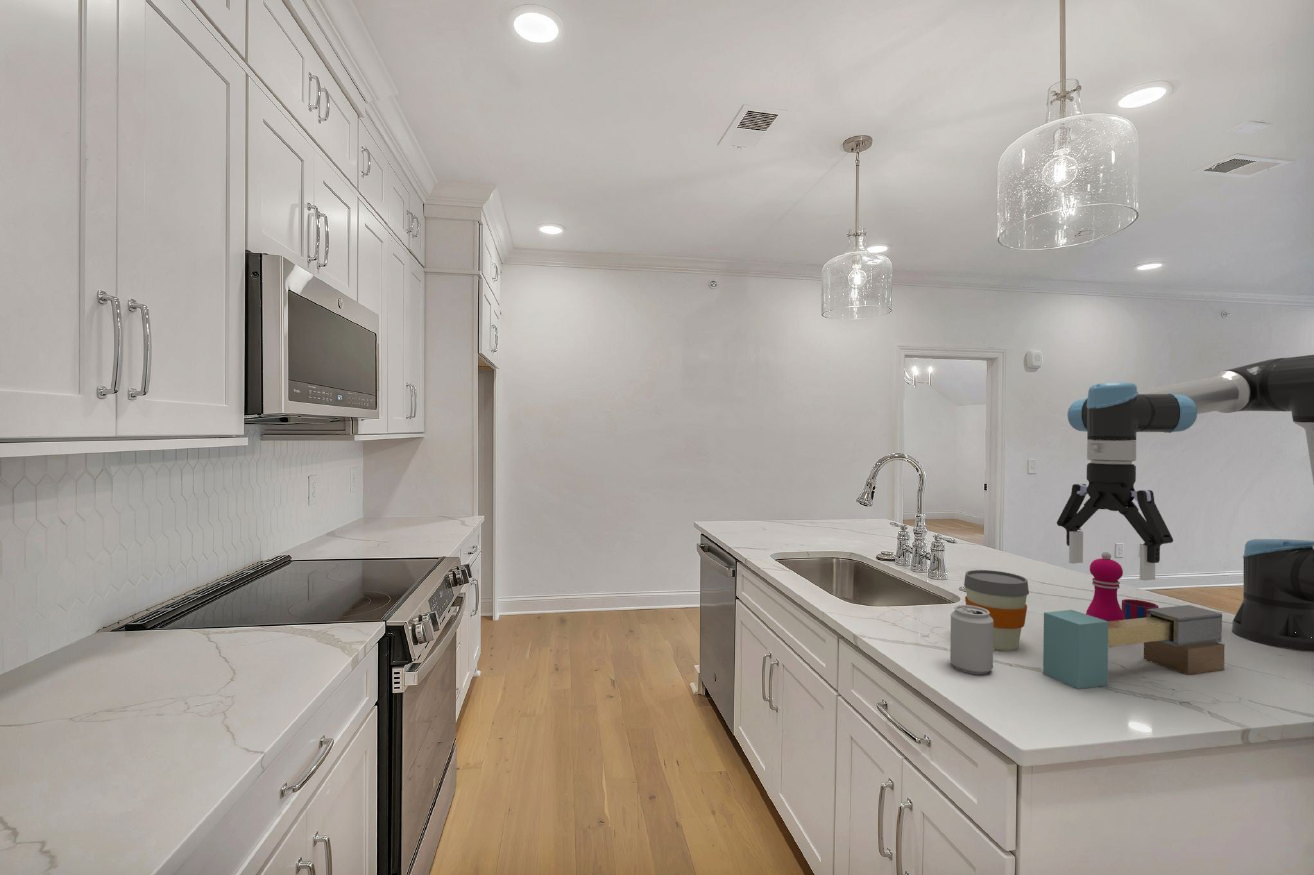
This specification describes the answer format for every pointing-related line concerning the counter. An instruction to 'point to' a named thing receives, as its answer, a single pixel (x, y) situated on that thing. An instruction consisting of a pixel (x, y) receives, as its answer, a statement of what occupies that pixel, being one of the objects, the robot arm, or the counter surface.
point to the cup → (1136, 608)
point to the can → (971, 639)
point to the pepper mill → (1105, 589)
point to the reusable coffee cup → (999, 603)
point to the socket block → (1075, 648)
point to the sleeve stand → (1188, 640)
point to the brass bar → (1139, 630)
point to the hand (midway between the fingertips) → (1109, 570)
